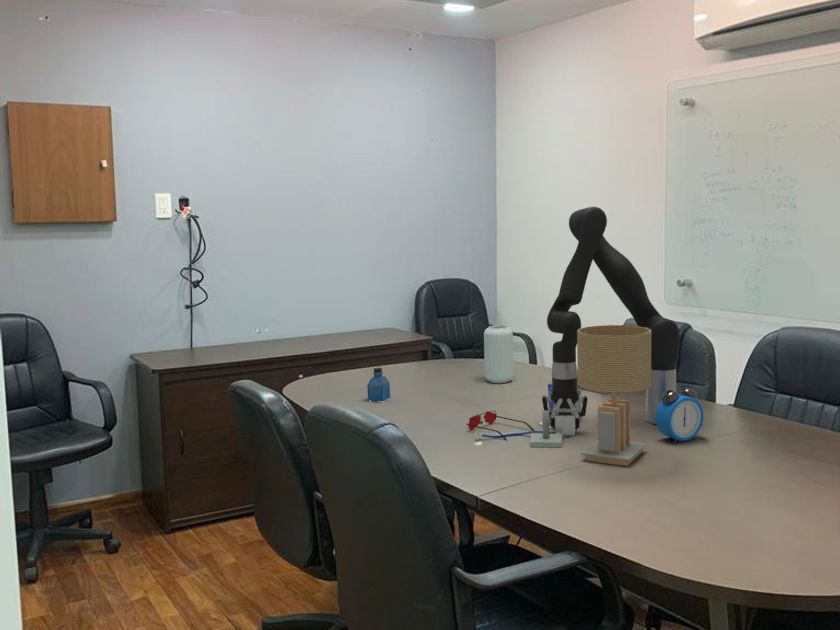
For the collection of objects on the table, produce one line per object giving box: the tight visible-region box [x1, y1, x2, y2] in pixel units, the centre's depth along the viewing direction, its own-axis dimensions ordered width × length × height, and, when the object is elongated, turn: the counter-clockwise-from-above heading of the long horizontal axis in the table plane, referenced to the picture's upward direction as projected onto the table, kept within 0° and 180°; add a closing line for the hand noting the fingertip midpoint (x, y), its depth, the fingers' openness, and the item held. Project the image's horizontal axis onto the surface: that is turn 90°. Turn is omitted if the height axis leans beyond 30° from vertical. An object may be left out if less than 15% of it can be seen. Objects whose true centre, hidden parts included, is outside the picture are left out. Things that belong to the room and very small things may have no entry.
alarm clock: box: [655, 387, 705, 443], centre depth 233 cm, size 13×6×15 cm, turn 113°
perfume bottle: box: [367, 367, 391, 402], centre depth 296 cm, size 6×6×12 cm
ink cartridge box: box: [547, 382, 583, 421], centre depth 259 cm, size 10×6×14 cm, turn 102°
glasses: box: [465, 410, 536, 442], centre depth 250 cm, size 14×16×5 cm
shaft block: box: [529, 410, 563, 449], centre depth 235 cm, size 9×9×10 cm
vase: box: [483, 324, 514, 384], centre depth 320 cm, size 12×12×22 cm
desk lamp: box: [576, 324, 651, 467], centre depth 218 cm, size 20×20×35 cm
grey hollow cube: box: [554, 411, 576, 437], centre depth 245 cm, size 6×6×6 cm
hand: (565, 429), depth 245 cm, fingers closed on grey hollow cube, 6 cm apart
